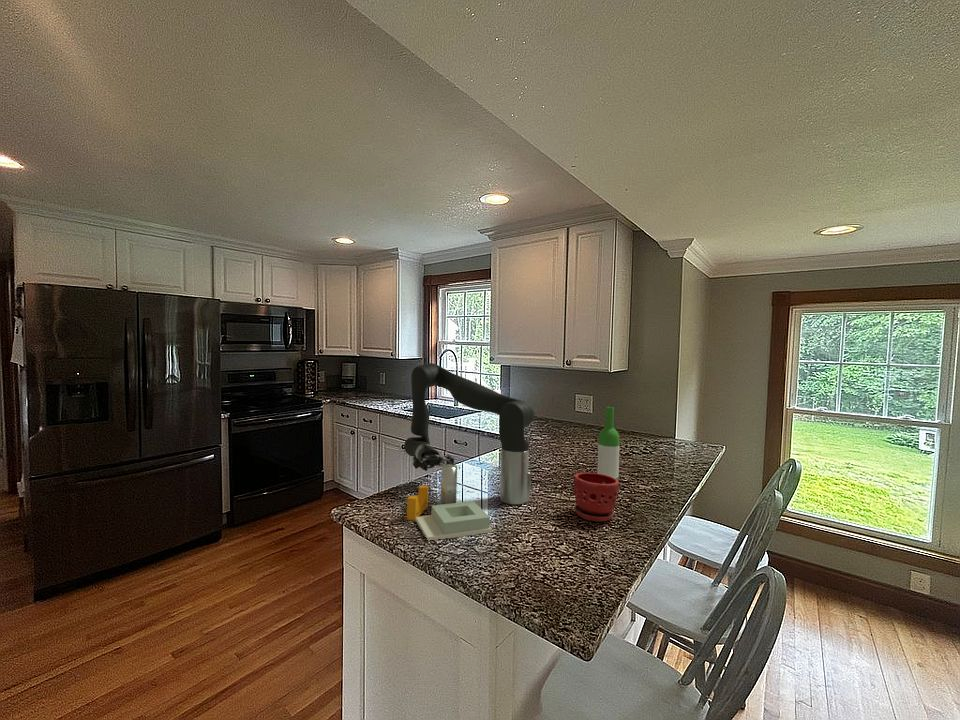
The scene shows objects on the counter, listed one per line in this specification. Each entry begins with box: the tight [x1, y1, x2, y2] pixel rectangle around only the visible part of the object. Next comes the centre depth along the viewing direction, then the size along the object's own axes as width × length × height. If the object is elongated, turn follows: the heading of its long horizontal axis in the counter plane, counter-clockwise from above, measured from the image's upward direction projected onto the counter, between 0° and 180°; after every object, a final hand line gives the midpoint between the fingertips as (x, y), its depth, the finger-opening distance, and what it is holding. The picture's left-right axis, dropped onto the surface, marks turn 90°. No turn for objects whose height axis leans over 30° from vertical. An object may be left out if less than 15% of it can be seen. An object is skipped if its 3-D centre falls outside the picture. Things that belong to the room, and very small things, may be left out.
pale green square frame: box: [415, 500, 493, 542], centre depth 115 cm, size 18×14×4 cm
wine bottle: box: [596, 406, 620, 484], centre depth 157 cm, size 8×8×30 cm
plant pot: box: [573, 472, 620, 522], centre depth 125 cm, size 13×13×12 cm
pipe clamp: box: [406, 485, 429, 522], centre depth 124 cm, size 12×4×6 cm, turn 170°
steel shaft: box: [439, 464, 458, 505], centre depth 129 cm, size 5×5×13 cm
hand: (438, 467), depth 139 cm, fingers open, 8 cm apart
